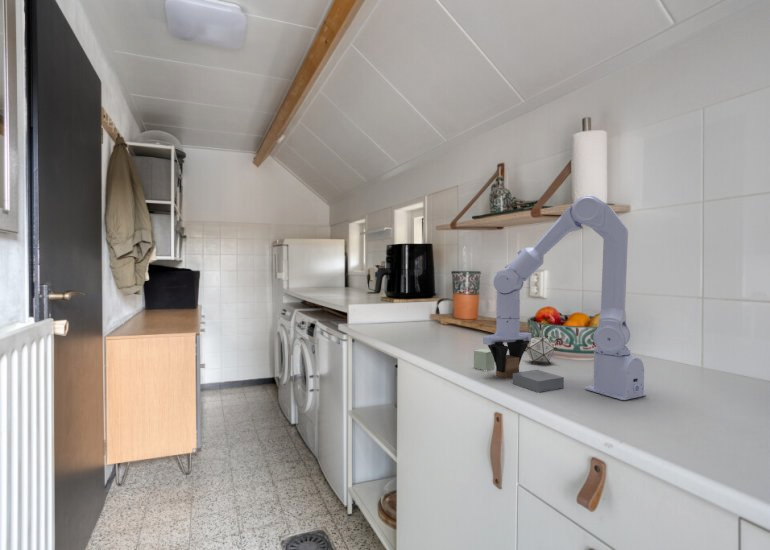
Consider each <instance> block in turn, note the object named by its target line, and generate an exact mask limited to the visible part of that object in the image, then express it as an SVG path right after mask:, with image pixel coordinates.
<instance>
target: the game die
mask: <svg viewBox="0 0 770 550" xmlns="http://www.w3.org/2000/svg"><path fill="white" fill-rule="evenodd" d="M548 338H549V335H546V336H544V337H541V336H539V337H538V336H536V337H535V336H534V337H533V336H532V335H531V341H528V347H527V348H526V350H525V351H524V353H525V352H526V353H527V355H528V356H529V358H530V359H531V365H533V364H534V363H539V362H540V363H548V364H549V365H551V363H552V362H551V358H552V357H553V354H554V351H555V350H557V349H558V347H555V346H554V345H553V344H552V343H551V342H550V340H549V339H548Z"/></svg>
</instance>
